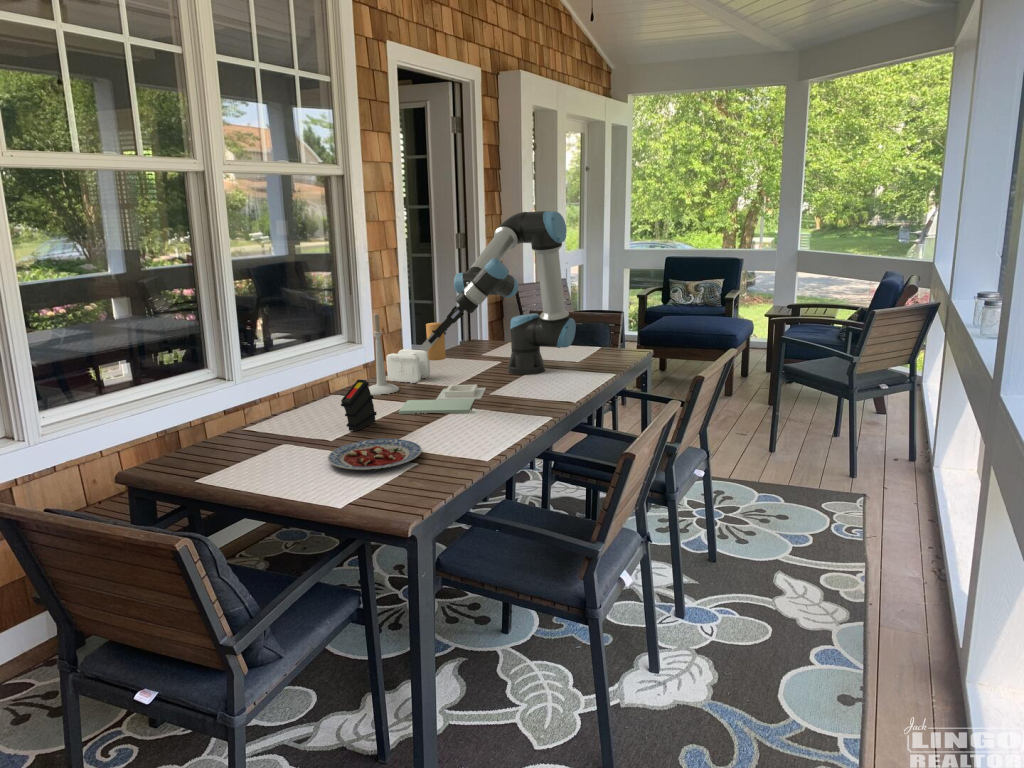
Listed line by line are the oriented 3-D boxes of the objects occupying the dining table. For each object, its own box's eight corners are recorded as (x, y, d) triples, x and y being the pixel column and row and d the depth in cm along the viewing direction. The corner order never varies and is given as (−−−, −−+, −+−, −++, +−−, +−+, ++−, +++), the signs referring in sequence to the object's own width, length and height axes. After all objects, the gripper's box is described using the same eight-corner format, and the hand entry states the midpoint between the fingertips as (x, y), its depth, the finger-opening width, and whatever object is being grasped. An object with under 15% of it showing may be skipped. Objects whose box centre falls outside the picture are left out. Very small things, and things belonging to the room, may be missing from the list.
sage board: (474, 402, 270) (474, 398, 270) (469, 413, 256) (469, 409, 256) (407, 403, 272) (407, 400, 272) (398, 414, 259) (398, 410, 258)
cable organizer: (432, 379, 309) (431, 350, 306) (418, 384, 300) (416, 355, 297) (402, 376, 316) (400, 348, 313) (386, 382, 306) (384, 353, 304)
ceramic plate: (338, 482, 197) (337, 471, 197) (320, 454, 220) (319, 444, 220) (434, 465, 207) (433, 455, 206) (407, 440, 230) (406, 431, 229)
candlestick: (372, 386, 299) (366, 310, 292) (403, 387, 297) (398, 310, 290) (359, 395, 287) (352, 315, 280) (392, 395, 284) (385, 315, 277)
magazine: (382, 414, 252) (367, 379, 243) (362, 442, 243) (346, 406, 234) (372, 414, 254) (357, 378, 245) (352, 441, 245) (336, 405, 236)
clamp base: (486, 390, 286) (485, 382, 285) (480, 401, 271) (480, 393, 270) (443, 391, 288) (443, 383, 287) (436, 402, 272) (435, 394, 271)
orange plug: (447, 356, 265) (445, 322, 262) (444, 360, 259) (442, 325, 256) (429, 357, 265) (427, 322, 263) (426, 360, 260) (424, 325, 257)
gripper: (466, 287, 265) (422, 334, 270) (458, 293, 247) (411, 344, 252) (482, 302, 266) (438, 349, 271) (475, 309, 248) (428, 359, 253)
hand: (425, 346), depth 262 cm, fingers closed on orange plug, 6 cm apart
